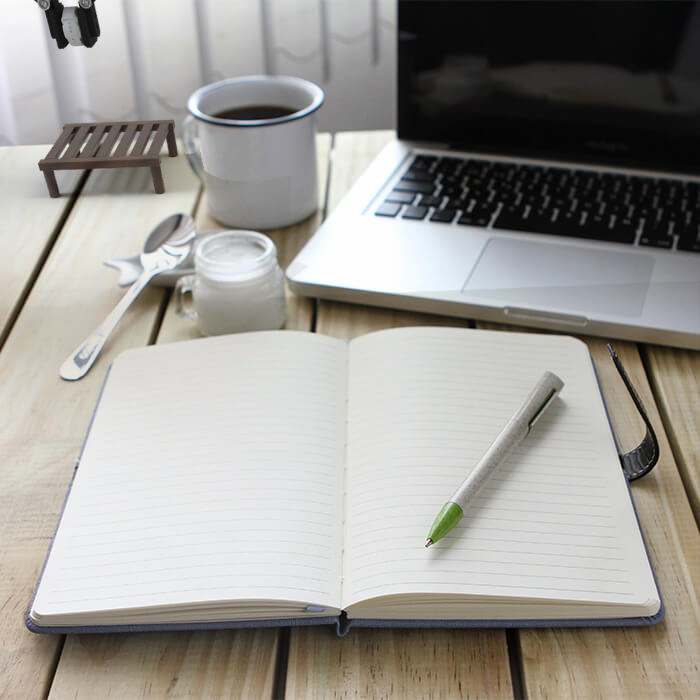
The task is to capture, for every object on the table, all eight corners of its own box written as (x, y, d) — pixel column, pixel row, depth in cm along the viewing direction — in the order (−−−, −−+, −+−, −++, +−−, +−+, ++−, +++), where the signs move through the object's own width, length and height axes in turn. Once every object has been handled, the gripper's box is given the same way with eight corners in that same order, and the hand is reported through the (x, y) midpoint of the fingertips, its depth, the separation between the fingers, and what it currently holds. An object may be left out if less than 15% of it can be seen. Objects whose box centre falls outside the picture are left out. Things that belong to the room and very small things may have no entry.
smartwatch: (85, 50, 84) (75, 10, 81) (64, 51, 84) (54, 11, 81) (92, 40, 87) (83, 1, 84) (72, 41, 87) (63, 3, 84)
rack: (47, 198, 94) (37, 163, 91) (73, 156, 103) (64, 123, 100) (164, 194, 94) (158, 158, 91) (179, 152, 103) (174, 119, 100)
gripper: (-70, -148, 71) (-7, 58, 82) (106, -155, 71) (145, 52, 82) (-39, -157, 77) (16, 37, 88) (124, -163, 77) (158, 32, 88)
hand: (78, 43), depth 85 cm, fingers closed on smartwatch, 2 cm apart
